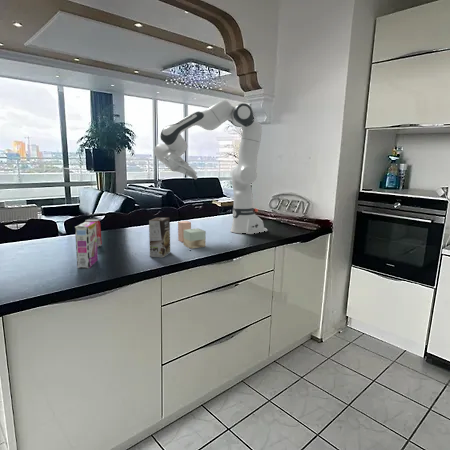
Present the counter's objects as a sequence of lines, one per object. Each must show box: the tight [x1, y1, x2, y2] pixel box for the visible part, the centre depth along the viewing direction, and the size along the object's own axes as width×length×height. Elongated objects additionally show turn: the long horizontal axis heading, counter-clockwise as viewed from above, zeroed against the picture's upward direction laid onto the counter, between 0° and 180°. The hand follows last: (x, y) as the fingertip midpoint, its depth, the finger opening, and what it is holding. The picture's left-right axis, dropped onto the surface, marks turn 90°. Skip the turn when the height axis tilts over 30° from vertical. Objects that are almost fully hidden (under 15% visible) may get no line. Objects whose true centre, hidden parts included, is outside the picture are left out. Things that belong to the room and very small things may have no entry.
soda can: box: [84, 218, 103, 248], centre depth 160 cm, size 7×7×13 cm
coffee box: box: [148, 217, 171, 259], centre depth 147 cm, size 9×6×16 cm
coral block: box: [177, 220, 192, 243], centre depth 174 cm, size 5×5×10 cm
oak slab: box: [183, 238, 206, 249], centre depth 164 cm, size 8×8×4 cm
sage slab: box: [184, 227, 207, 241], centre depth 163 cm, size 8×8×4 cm
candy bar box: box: [74, 221, 99, 269], centre depth 132 cm, size 11×5×16 cm, turn 5°
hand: (191, 175), depth 176 cm, fingers open, 8 cm apart
